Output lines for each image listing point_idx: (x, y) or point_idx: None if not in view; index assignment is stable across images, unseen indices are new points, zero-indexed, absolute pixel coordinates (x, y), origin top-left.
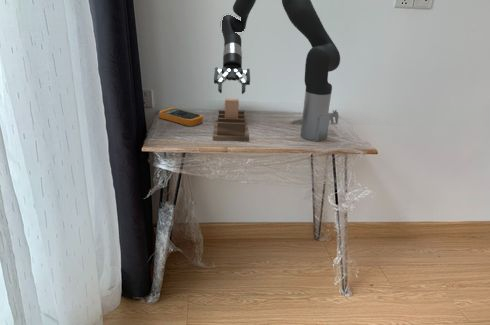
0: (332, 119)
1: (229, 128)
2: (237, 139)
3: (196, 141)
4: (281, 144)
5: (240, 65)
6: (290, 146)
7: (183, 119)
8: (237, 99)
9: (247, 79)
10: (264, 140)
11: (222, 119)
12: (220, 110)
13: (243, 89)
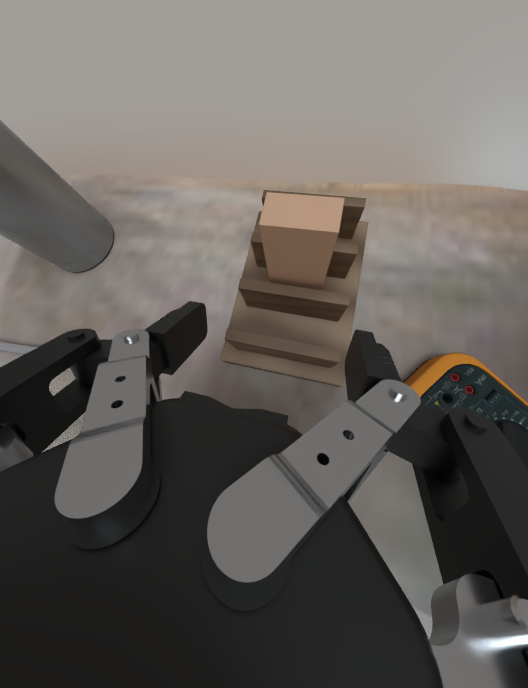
0: None
1: None
2: None
3: (415, 225)
4: (185, 199)
5: None
6: (169, 188)
7: (492, 373)
8: (267, 214)
9: (78, 344)
10: (217, 225)
11: (339, 243)
12: (332, 354)
13: (186, 305)
